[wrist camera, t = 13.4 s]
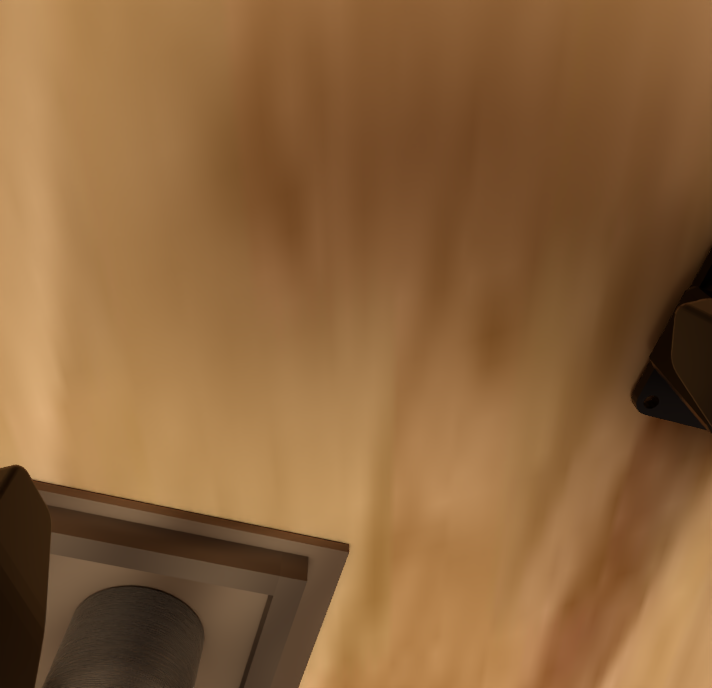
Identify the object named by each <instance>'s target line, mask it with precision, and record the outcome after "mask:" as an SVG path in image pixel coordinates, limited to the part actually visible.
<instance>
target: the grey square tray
mask: <svg viewBox="0 0 712 688" xmlns="http://www.w3.org/2000/svg"><path fill="white" fill-rule="evenodd" d="M32 481H33V480H32ZM33 482H34V484H35V486H36V488H37V489H38V491H39V493H40V495H41V497H42V498H43V500H44V502H45V504H46V505H47V507H48V510H49V512H50V516H51V523H52V529H51V546H50V562H49V578H48V594H47V610H46V622H45V632H44V639H43V645H42V651H41V657H40V662H39V668H38V673H37V679H36V684H35V688H42V686H43V684H44V681H45V679H46V677H47V674H48V672H49V670H50V667H51V665H52V663H53V660H54V658H55V656H56V654H57V651H58V649H59V647H60V644H61V642H62V640H63V637H64V635H65V633H66V630H67V628H68V626H69V623H70V621H71V619H72V617H73V614H74V612H75V610H76V609H77V607H78V606H79V605H80V604H81V603H82V602H83V601H84V600H85V599H87V598H88V597H90V596H91V595H93V594H95V593H98V592H100V591H103V590H107V589H111V588H117V587H141V588H148V589H152V590H156V591H159V592H162V593H165V594H167V595H170V596H172V597H174V598H176V599H177V600H179V601H181V602H182V603H184V604H185V605H186V606H187V607H189V608H190V609H191V610H192V611H193V612H194V614H195V615H196V616H197V617H198V619H199V621H200V622H201V625H202V627H203V631H204V645H203V650H202V654H201V659H200V664H199V668H198V673H197V678H196V682H195V687H194V688H298V687H299V684H300V682H301V679H302V676H303V674H304V671H305V668H306V666H307V663H308V660H309V658H310V655H311V652H312V650H313V647H314V644H315V642H316V639H317V636H318V634H319V631H320V628H321V626H322V623H323V620H324V618H325V615H326V612H327V610H328V607H329V604H330V602H331V599H332V596H333V594H334V591H335V588H336V586H337V583H338V580H339V578H340V575H341V573H342V570H343V567H344V565H345V562H346V559H347V557H348V554H349V545H348V544H343V543H338V542H333V541H328V540H323V539H318V538H313V537H309V536H304V535H299V534H294V533H289V532H284V531H279V530H274V529H269V528H264V527H259V526H254V525H249V524H245V523H240V522H235V521H230V520H225V519H220V518H215V517H210V516H205V515H200V514H195V513H190V512H185V511H181V510H176V509H171V508H166V507H161V506H156V505H151V504H146V503H141V502H136V501H131V500H126V499H121V498H116V497H112V496H107V495H102V494H97V493H92V492H87V491H82V490H77V489H72V488H67V487H62V486H57V485H52V484H48V483H43V482H38V481H33Z"/></svg>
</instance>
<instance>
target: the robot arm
mask: <svg viewBox="0 0 712 688" xmlns="http://www.w3.org/2000/svg"><path fill="white" fill-rule="evenodd" d="M649 396H654V397H653V399H652V400H651V401H649V402H644V400H645V399H646V398H647V397H649ZM631 398H632V403H633V404H634V405H635V407H636V408H637V410H638V411H639V412H640V413H642V414H644V415H648V416H652V417H656V418H660V419H664V420H668V421H672V422H676V423H680V424H684V425H689V426H693V427H697V428H701V429H705V430H707V431H708V432H710V433H712V249H711V250H710V252H709V254H708V256H707V258H706V260H705V261H704V263H703V265H702V267H701V269H700V271H699V272H698V274H697V276H696V278H695V280H694V282H693V283H692V285H691V287H690V289H688V290H687V291H685V293H684V295H683V296H682V298H681V300H680V302H679V304H678V306H677V307H676V309H675V311H674V313H673V315H672V317H671V319H670V320H669V322H668V324H667V326H666V328H665V330H664V331H663V333H662V335H661V337H660V339H659V341H658V342H657V344H656V346H655V348H654V350H653V352H652V353H651V355H650V362H649V364H648V366H647V368H646V369H645V371H644V373H643V375H642V377H641V379H640V380H639V382H638V384H637V386H636V388H635V390H634V391H633V394H632V397H631ZM51 529H52V523H51V516H50V512H49V510H48V507H47V505H46V504H45V502H44V500H43V498H42V497H41V495H40V493H39V491H38V489H37V488H36V486H35V484H34V482H33V481H32V479H31V477H30V475H29V473H28V472H27V471H26V469H24V468H23V467H22V466H19V465H12V466H8V467H4V468H0V688H35V684H36V679H37V673H38V668H39V662H40V657H41V651H42V645H43V639H44V632H45V622H46V610H47V594H48V578H49V562H50V546H51Z"/></svg>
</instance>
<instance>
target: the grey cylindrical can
mask: <svg viewBox="0 0 712 688" xmlns="http://www.w3.org/2000/svg"><path fill="white" fill-rule="evenodd" d="M203 645H204V631H203V627H202V625H201V622H200V621H199V619H198V617H197V616H196V615H195V614H194V612H193V611H192V610H191V609H190V608H189V607H187V606H186V605H185V604H184V603H182V602H181V601H179V600H177V599H176V598H174V597H172V596H170V595H167V594H165V593H162V592H159V591H156V590H152V589H148V588H141V587H117V588H111V589H107V590H103V591H100V592H98V593H95V594H93V595H91V596H90V597H88V598H87V599H85V600H84V601H83V602H82V603H81V604H80V605H79V606H78V607H77V609H76V610H75V612H74V614H73V617H72V619H71V621H70V623H69V626H68V628H67V630H66V633H65V635H64V637H63V640H62V642H61V644H60V647H59V649H58V651H57V654H56V656H55V658H54V660H53V663H52V665H51V667H50V670H49V672H48V674H47V677H46V679H45V681H44V684H43V686H42V688H194V687H195V682H196V678H197V673H198V668H199V664H200V659H201V654H202V650H203Z"/></svg>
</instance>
